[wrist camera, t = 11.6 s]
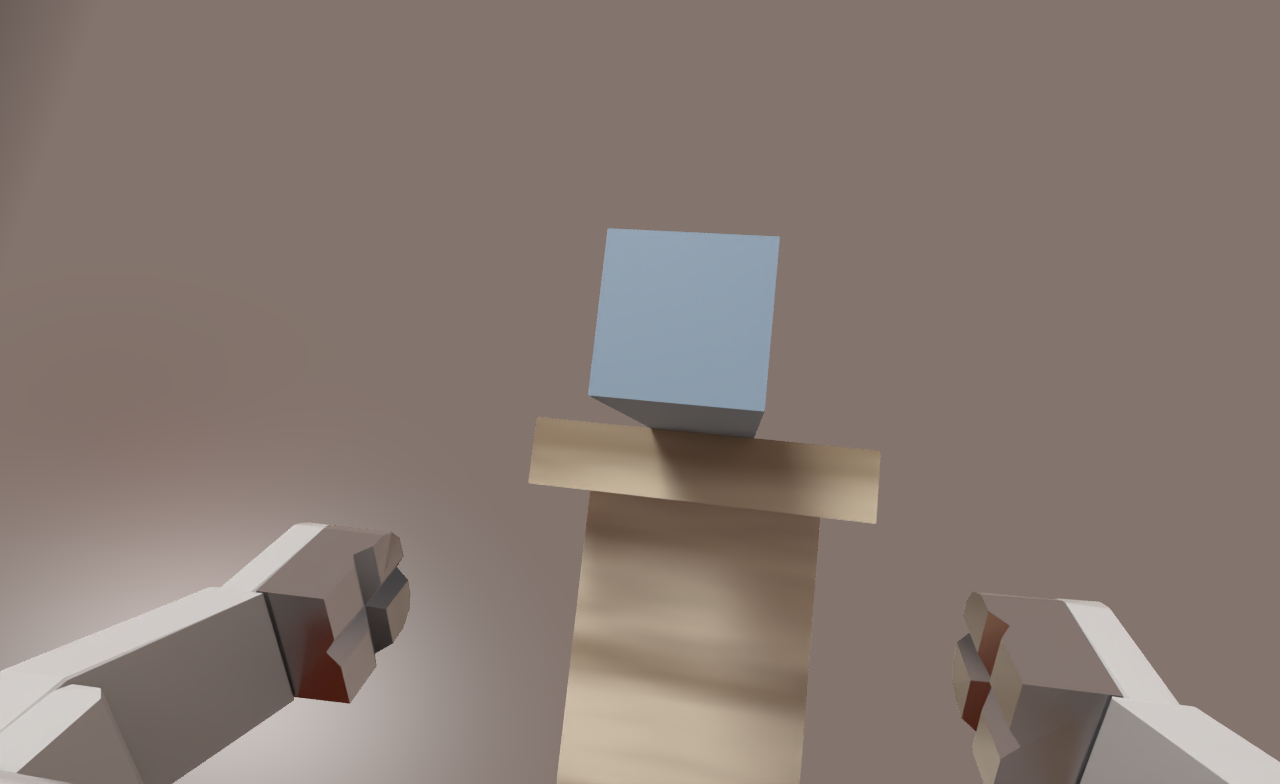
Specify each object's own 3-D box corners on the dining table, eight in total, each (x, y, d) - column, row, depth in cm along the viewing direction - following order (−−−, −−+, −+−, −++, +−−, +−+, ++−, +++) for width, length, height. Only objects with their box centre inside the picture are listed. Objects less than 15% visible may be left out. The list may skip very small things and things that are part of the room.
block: (764, 411, 11) (779, 236, 11) (588, 395, 11) (607, 228, 11) (748, 452, 30) (753, 389, 31) (684, 446, 31) (690, 383, 31)
